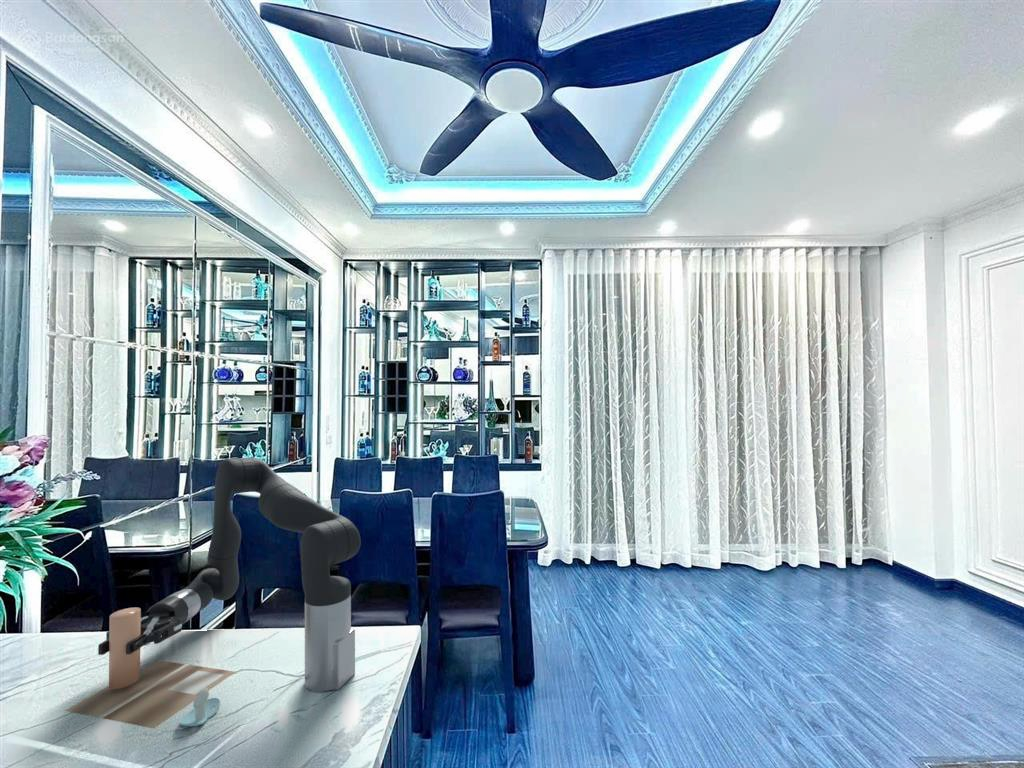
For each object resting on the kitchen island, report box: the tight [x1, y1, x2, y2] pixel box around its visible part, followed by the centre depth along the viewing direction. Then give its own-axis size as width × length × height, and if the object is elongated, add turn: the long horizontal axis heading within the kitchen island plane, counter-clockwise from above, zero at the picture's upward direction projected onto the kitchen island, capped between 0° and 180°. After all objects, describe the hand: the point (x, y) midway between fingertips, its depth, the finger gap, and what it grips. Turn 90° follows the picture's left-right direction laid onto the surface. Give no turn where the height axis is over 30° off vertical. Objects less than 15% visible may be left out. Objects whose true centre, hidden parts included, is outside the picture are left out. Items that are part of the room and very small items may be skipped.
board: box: [64, 659, 236, 729], centre depth 95 cm, size 22×18×1 cm
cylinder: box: [108, 607, 142, 689], centre depth 97 cm, size 5×5×14 cm
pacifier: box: [175, 688, 221, 730], centre depth 87 cm, size 7×6×6 cm
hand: (114, 649), depth 94 cm, fingers closed on cylinder, 5 cm apart
